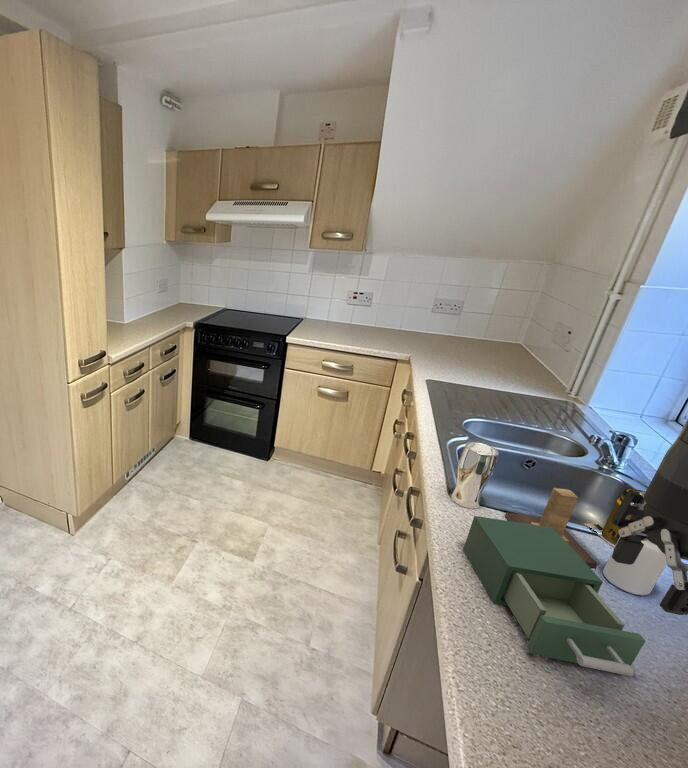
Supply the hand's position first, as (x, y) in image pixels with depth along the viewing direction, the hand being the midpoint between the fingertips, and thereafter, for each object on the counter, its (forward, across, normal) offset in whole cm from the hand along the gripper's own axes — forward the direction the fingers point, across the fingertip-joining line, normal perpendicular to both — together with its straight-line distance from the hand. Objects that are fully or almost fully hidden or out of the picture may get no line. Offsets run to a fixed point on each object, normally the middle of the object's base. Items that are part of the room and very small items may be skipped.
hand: (644, 584), depth 55 cm
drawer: (+18, +6, +1) cm, 19 cm away
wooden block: (+18, +34, -11) cm, 40 cm away
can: (+19, +25, -19) cm, 37 cm away
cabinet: (+19, +19, +1) cm, 27 cm away
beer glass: (+19, +45, +1) cm, 49 cm away
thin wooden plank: (+19, +34, -11) cm, 41 cm away
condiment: (+19, +40, -27) cm, 52 cm away
